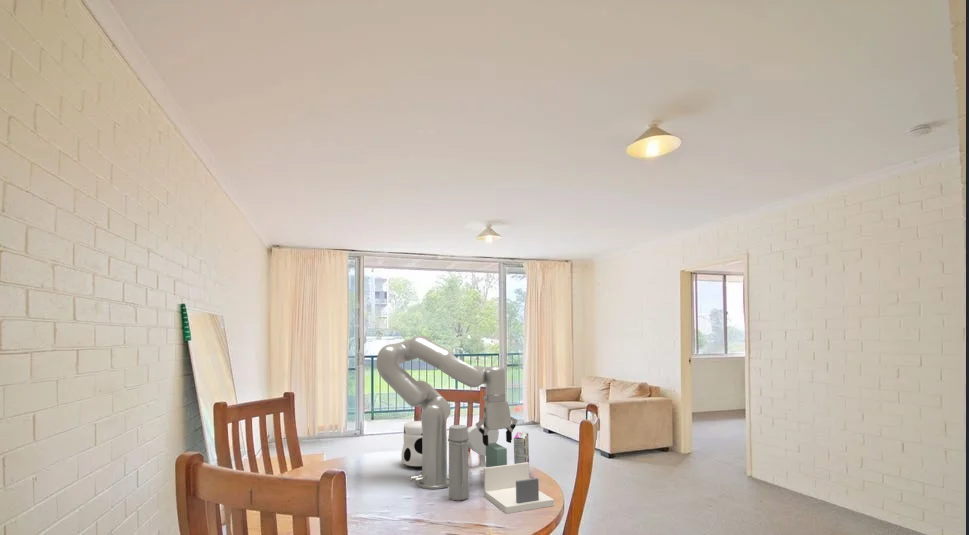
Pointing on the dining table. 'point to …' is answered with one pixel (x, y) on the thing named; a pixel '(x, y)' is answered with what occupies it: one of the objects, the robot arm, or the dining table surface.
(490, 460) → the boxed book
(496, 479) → the shelf
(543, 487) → the dining table surface
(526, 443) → the candy bar box
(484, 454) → the heart sculpture
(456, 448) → the water bottle
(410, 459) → the milk container
